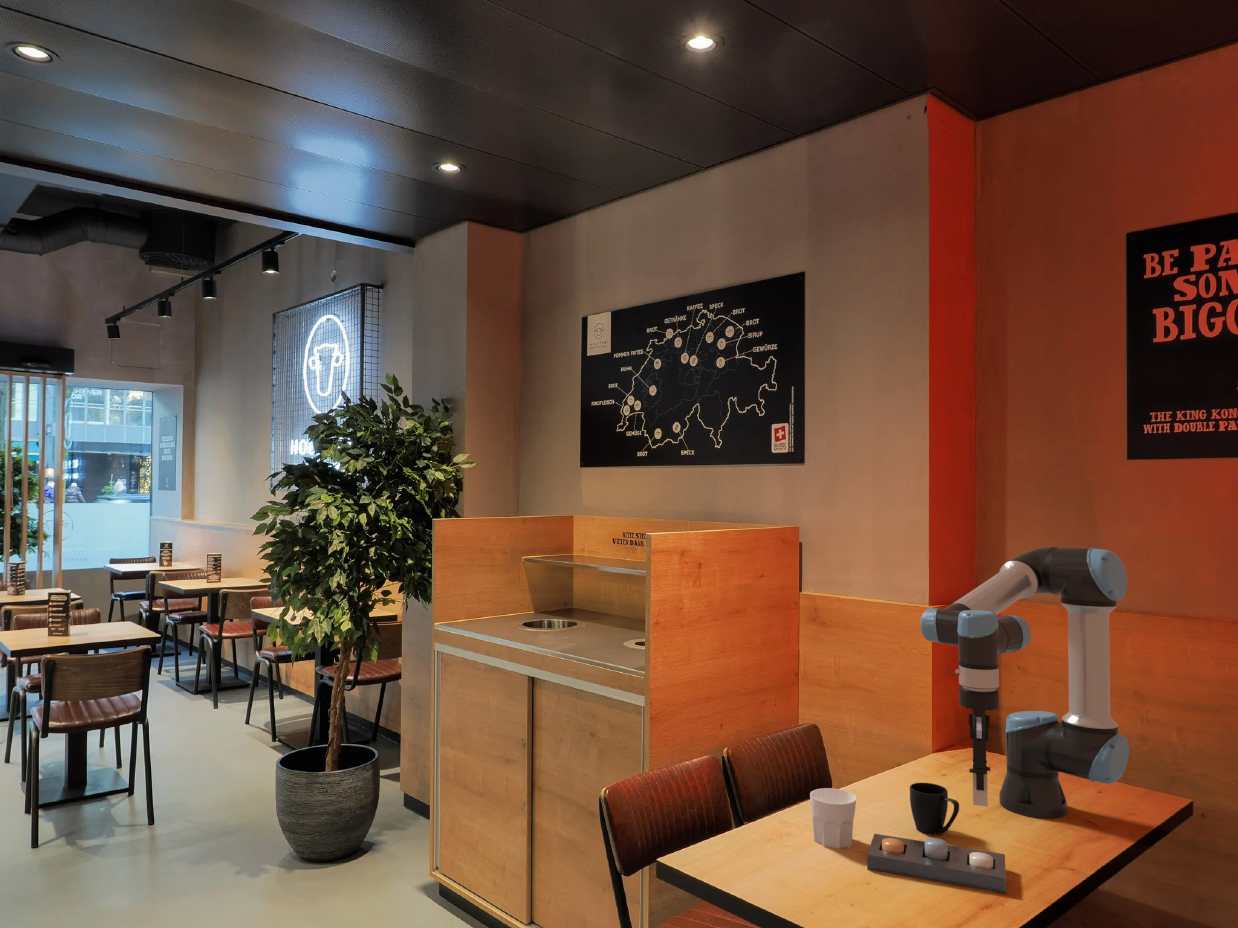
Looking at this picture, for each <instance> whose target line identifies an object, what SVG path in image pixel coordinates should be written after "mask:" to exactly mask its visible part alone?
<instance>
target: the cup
mask: <svg viewBox="0 0 1238 928" xmlns="http://www.w3.org/2000/svg"><path fill="white" fill-rule="evenodd" d="M809 799H810V807H811V808H810V810H811V815H812V823H813V824H812V827H813V839H814V840H813V841H814V842H815V843H818V844H820V845H822V846H823V847H824V848H834V849H838V850H840V849H842V848H847V847H852V841H853V831H854V829H853V828H854V818H855V814H856V813H855V812H856V804H857V796H856V795H855V794H853V793H852V792H849V791H847V790H844V789H840V788H833V787H832V788H831V787H829V788H826V787H824V788H817V789H814V790H812V791H810V793H809Z"/></svg>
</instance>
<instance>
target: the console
mask: <svg viewBox="0 0 1238 928" xmlns="http://www.w3.org/2000/svg"><path fill="white" fill-rule="evenodd" d="M885 838H894V839H898V840H901V841H902V842H903V843H904V854H900V853H894V852H888V851H882V840H883V839H885ZM871 839H872V840H871V843H870V845H869V848H868V851H867V855H866V857H867V859H866V860H867V861H866V863H867V864H866V866H867V867H866V869H867V870H868V871H869V870H870V871H873V872H879V873H887V874H891V875H896V876H902V877H908V878H913V879H919V880H924V881H925V880H926V881H931V882H937V883H942V884H947V885H954V886H957V887H958V886H959V887H965V888H971V889H976V890H982V891H988V892H993V893H999V894H1004V895H1006V894H1007V872H1006V868H1007V867H1006V855H1005V853H1000V852H994V851H988V850H986V851H985V850H980V849H975V848H969V847H968V848H967V847H961V846H957V845H950V844H949V845H948V844H947V851H948V861H942V860H936V859H930V858H925V840H918V839H912V838H911V839H910V838H905V837H904V838H903V837H900V836H899V837H898V836H894V835H885V834H882V833H881V834H880V833H873V836H872V838H871ZM972 852H981V853H986V854H988V855H990V856H992V857H993V869H990V868H984V867H978V866H972V865H970V862H969V854H970V853H972Z"/></svg>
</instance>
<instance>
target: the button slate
mask: <svg viewBox="0 0 1238 928" xmlns="http://www.w3.org/2000/svg"><path fill="white" fill-rule="evenodd" d="M924 841H925V858H930V859H936V860H942V861H948V851H947V845H948V841H946V840H944V839H941V838H937V837H928V838H925V839H924Z"/></svg>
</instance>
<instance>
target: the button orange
mask: <svg viewBox="0 0 1238 928" xmlns="http://www.w3.org/2000/svg"><path fill="white" fill-rule="evenodd" d="M882 851H888V852H894V853H900V854H904V843H903V842H902V841H901V840H898V839H894V838H885V839H883V840H882Z"/></svg>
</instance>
